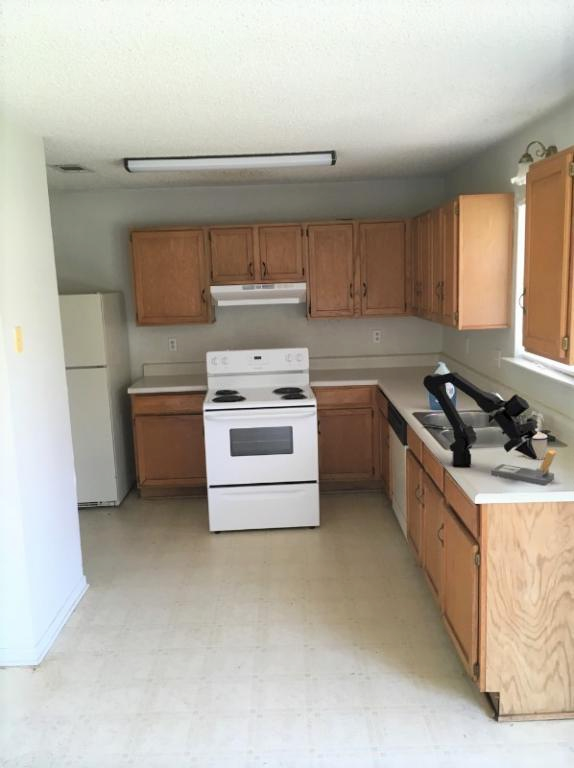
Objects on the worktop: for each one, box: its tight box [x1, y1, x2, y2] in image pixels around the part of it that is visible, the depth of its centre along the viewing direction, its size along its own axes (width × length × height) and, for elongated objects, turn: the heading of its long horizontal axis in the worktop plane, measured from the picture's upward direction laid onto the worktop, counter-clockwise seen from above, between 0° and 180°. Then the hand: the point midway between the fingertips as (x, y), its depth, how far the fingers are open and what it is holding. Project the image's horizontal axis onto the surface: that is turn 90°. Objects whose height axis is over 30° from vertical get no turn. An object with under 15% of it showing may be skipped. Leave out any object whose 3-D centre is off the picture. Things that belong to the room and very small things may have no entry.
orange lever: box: [539, 449, 557, 475], centre depth 226 cm, size 2×4×10 cm, turn 139°
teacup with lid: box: [523, 428, 549, 460], centre depth 257 cm, size 12×9×12 cm
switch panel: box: [490, 463, 555, 486], centre depth 232 cm, size 20×10×5 cm, turn 49°
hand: (536, 458), depth 228 cm, fingers closed
